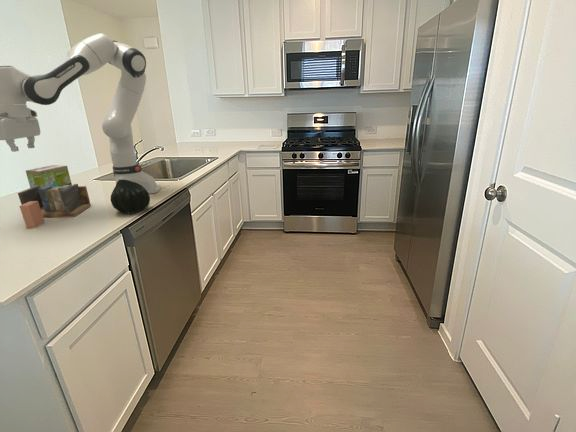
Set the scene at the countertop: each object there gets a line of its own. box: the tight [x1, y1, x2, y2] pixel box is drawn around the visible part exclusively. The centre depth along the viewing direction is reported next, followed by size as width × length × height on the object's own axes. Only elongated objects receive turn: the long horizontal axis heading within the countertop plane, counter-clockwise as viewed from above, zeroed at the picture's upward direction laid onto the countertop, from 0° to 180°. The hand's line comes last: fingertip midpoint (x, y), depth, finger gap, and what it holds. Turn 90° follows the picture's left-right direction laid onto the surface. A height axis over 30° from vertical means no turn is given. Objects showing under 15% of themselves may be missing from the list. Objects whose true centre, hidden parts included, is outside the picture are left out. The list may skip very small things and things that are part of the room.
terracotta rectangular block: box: [19, 201, 45, 229], centre depth 122 cm, size 3×6×9 cm, turn 7°
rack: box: [17, 183, 92, 219], centre depth 136 cm, size 20×14×12 cm
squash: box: [110, 179, 151, 215], centre depth 136 cm, size 14×15×15 cm
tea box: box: [25, 164, 73, 188], centre depth 161 cm, size 15×10×15 cm, turn 168°
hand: (23, 149), depth 123 cm, fingers open, 8 cm apart
